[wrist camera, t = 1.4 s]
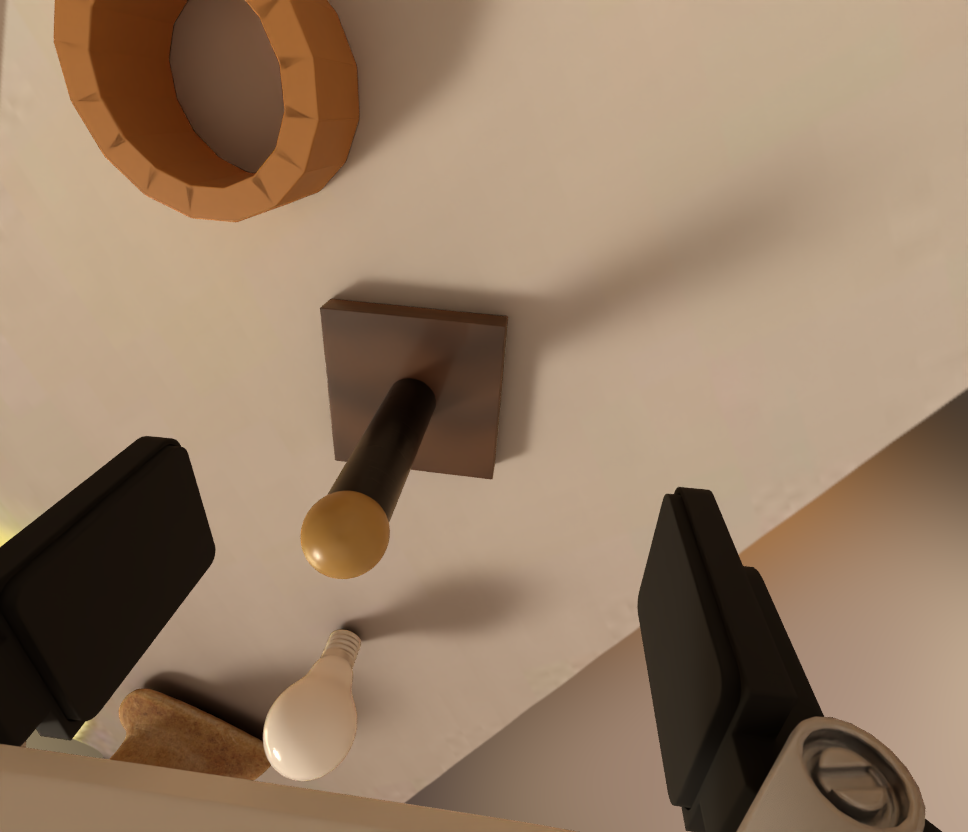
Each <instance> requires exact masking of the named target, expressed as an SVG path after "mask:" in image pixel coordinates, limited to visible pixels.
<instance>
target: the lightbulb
mask: <svg viewBox="0 0 968 832" xmlns="http://www.w3.org/2000/svg"><path fill="white" fill-rule="evenodd" d="M360 646H361V640H360V638H359V637H358V636H357V635H356V634H355V633H353V632H351V631H349V630H336V631H333V632H332V633H331V634H330V637H329V639H328V641H327V644H326V646H325V649H324V651H323V653H322V655H321V657H320V659H319V660H318V661H317V662H316V663H315V664H314V665H313V666H312V668H311V669H310V671H309V672H308V673H307V674H306V675H305V676H304V677H303V678H301V679H300V680H298V681H297V682H295V683H294V684H292V685H291V686H289V687H288V688H287V689H286V690H284V691H283V692H282V693H281V694H280V695H279V697H278V698H277V699H276V700H275V702H274V703H273V705H272V706H271V708H270V710H269V712H268V714H267V717H266V720H265V724H264V729H263V746H264V751H265V754H266V757H267V759H268V761H269V763H270V764H271V766H272V767H273V768H274V769H275V770H276V771H277V772H278V773H279V774H281V775H282V776H284V777H286V778H288V779H291V780H295V781H310V780H315V779H318V778H320V777H323V776H325V775H326V774H328V773H330V772H331V771H333V770H334V769H335V768H336V767H337V766H338V765H339V764H340V763H341V762H342V761H343V760H344V758H345V757H346V755H347V754H348V752H349V750H350V749H351V746H352V744H353V741H354V738H355V735H356V730H357V712H356V707H355V703H354V700H353V696H352V691H351V688H352V681H353V671H352V669H353V666H354V663H355V660H356V658H357V655H358V651H359V650H360Z"/></svg>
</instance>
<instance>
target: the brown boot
mask: <svg viewBox="0 0 968 832" xmlns="http://www.w3.org/2000/svg"><path fill="white" fill-rule="evenodd" d="M119 718H120V721H121V724H122V725H123V727H124V729H125V730H126V732H127V733H126V738H125V740H124V742H123V743H122V745H121V746H120V747H119V749H118V750H117V751H116V752H115V754H114V755H113V756H112V757H111V758H110V759H109V760H116V761H123V762H130V763H137V764H144V765H151V766H158V767H165V768H172V769H178V770H185V771H192V772H199V773H205V774H212V775H219V776H226V777H232V778H239V779H246V780H253V781H254V780H255V779H257V778H258V777H259V776H260V775H262V774H263V773H264V772H265V771H266V770H267V769H268V768H269V767H270V766H271V764H270V763H269V761H268V759H267V757H266V754H265V751H264V746H263V741H261V740H259V739H258V738H256V737H253V736H252V735H250V734H248V733H246V732H245V731H243V730H241V729H239V728H236V727H235V726H233V725H231V724H229V723H227V722H225V721H223V720H221V719H219V718H217V717H215V716H213V715H210V714H208V713H206V712H204V711H202V710H200V709H198V708H195V707H193V706H191V705H189V704H187V703H185V702H183V701H180V700H177V699H175V698H172V697H170V696H168V695H166V694H163V693H160V692H157V691H154V690H151V689H137V690H135V691H133V692H131V693H130V694H128V695H127V696H126V697H125V699H124V700H123V702H122V703H121V705H120V708H119Z"/></svg>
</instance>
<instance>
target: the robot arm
mask: <svg viewBox="0 0 968 832" xmlns="http://www.w3.org/2000/svg"><path fill="white" fill-rule="evenodd" d="M214 556H215V544H214V541H213V537H212V534H211V531H210V527H209V524H208V520H207V517H206V513H205V510H204V507H203V503H202V500H201V496H200V493H199V489H198V486H197V483H196V479H195V476H194V472H193V469H192V465H191V462H190V459H189V455H188V452H187V450H186V449H185V448H183V447H181V445H180V443H179V442H178V441H177V440H175V439H172V438H161V437H151V436H144V437H141V438H139V439H137V440H136V441H135V442H134V443H132V444H131V445H130V446H128V447H127V448H126V449H125V450H123V451H122V452H121V453H120V454H118V455H117V456H116V457H114V458H113V459H112V460H111V461H109V462H108V463H107V464H106V465H104V466H103V467H102V468H100V469H99V470H98V471H97V472H95V473H94V474H93V475H92V476H90V477H89V478H88V479H86V480H85V481H84V482H83V483H81V484H80V485H79V486H78V487H76V488H75V489H74V490H72V491H71V492H70V493H69V494H67V495H66V496H65V497H64V498H62V499H61V500H60V501H58V502H57V503H56V504H55V505H53V506H52V507H51V508H50V509H48V510H47V511H46V512H45V513H43V514H42V515H41V516H39V517H38V518H37V519H36V520H34V521H33V522H32V523H31V524H29V525H28V526H27V527H25V528H24V529H23V530H22V531H20V532H19V533H18V534H17V535H15V536H14V537H13V538H11V539H10V540H9V541H8V542H6V543H5V544H4V545H3V546H1V547H0V832H578V831H572V830H566V829H560V828H555V827H549V826H543V825H538V824H532V823H526V822H520V821H515V820H508V819H501V818H495V817H488V816H482V815H476V814H469V813H462V812H456V811H450V810H443V809H436V808H430V807H423V806H418V805H410V804H405V803H398V802H392V801H385V800H379V799H372V798H366V797H359V796H353V795H346V794H340V793H333V792H326V791H320V790H313V789H306V788H299V787H293V786H286V785H279V784H273V783H266V782H259V781H253V780H246V779H239V778H232V777H226V776H219V775H212V774H205V773H199V772H192V771H185V770H178V769H172V768H165V767H158V766H151V765H144V764H137V763H130V762H123V761H116V760H109V759H102V758H95V757H88V756H81V755H74V754H67V753H60V752H53V751H46V750H39V749H32V748H26V740H27V739H28V737H29V736H30V735H31V734H32V733H33V731H34V730H35V729H36V730H37V731H38V733H39V734H40V736H44V737H51V738H57V739H65V740H72V738H73V737H74V736H75V734H76V733H77V732H78V730H79V729H80V728H81V726H82V725H83V724H84V723H85V721H88V720H91V719H92V718H94V717H95V716H96V715H97V714H98V713H99V712H100V711H101V709H102V708H103V707H104V705H105V704H106V703H107V701H108V700H109V699H110V697H111V696H112V695H113V693H114V692H115V691H116V690H117V688H118V687H119V686H120V684H121V683H122V682H123V680H124V679H125V678H126V676H127V675H128V674H129V672H130V671H131V670H132V668H133V667H134V666H135V664H136V663H137V662H138V660H139V659H140V658H141V657H142V655H143V654H144V653H145V651H146V650H147V649H148V647H149V646H150V645H151V643H152V642H153V641H154V639H155V638H156V637H157V635H158V634H159V633H160V631H161V630H162V629H163V627H164V626H165V625H166V623H167V622H168V621H169V620H170V618H171V617H172V616H173V614H174V613H175V612H176V610H177V609H178V608H179V606H180V605H181V604H182V602H183V601H184V600H185V598H186V597H187V596H188V594H189V593H190V592H191V590H192V589H193V588H194V587H195V585H196V584H197V583H198V581H199V580H200V579H201V577H202V576H203V575H204V573H205V572H206V571H207V569H208V568H209V567H210V565H211V564H212V562H213V559H214ZM638 616H639V622H640V628H641V634H642V640H643V646H644V652H645V658H646V664H647V670H648V676H649V682H650V688H651V694H652V699H653V706H654V712H655V718H656V723H657V730H658V736H659V742H660V748H661V754H662V759H663V766H664V772H665V778H666V784H667V790H668V795H669V799H670V802H671V803H672V805H674V806H681V807H682V812H683V817H684V822H685V828H686V831H691V832H942V831H940V830H939V829H938V828H936V827H935V826H934V825H933V824H931V823H930V822H929V821H928V820H926V819H925V805H924V802H923V799H922V795H921V792H920V790H919V787H918V785H917V784H916V782H915V781H914V779H913V777H912V775H911V774H910V772H909V771H908V769H907V768H906V766H905V765H904V764H903V763H902V762H901V761H900V760H899V759H898V757H897V756H896V755H895V754H894V753H893V752H892V751H891V750H890V749H889V748H888V747H887V746H885V745H884V744H883V743H882V742H880V741H879V740H878V739H876V738H875V737H874V736H873V735H871V734H870V733H868V732H866V731H864V730H862V729H861V728H859V727H857V726H855V725H853V724H851V723H848V722H845V721H842V720H839V719H836V718H833V717H824V715H823V713H822V711H821V708H820V706H819V704H818V702H817V700H816V697H815V695H814V693H813V691H812V689H811V686H810V684H809V682H808V679H807V677H806V675H805V673H804V670H803V668H802V666H801V664H800V662H799V659H798V657H797V655H796V652H795V650H794V648H793V646H792V644H791V641H790V639H789V637H788V635H787V632H786V630H785V628H784V626H783V623H782V621H781V619H780V617H779V614H778V612H777V610H776V608H775V605H774V603H773V601H772V599H771V596H770V594H769V592H768V590H767V587H766V585H765V583H764V581H763V579H762V577H761V575H760V574H759V572H758V571H757V570H756V569H755V568H754V567H746V566H743V565H742V563H741V560H740V558H739V555H738V553H737V551H736V548H735V546H734V543H733V541H732V538H731V536H730V534H729V531H728V529H727V526H726V524H725V522H724V519H723V517H722V514H721V512H720V510H719V507H718V505H717V502H716V500H715V498H714V495H713V493H712V492H711V491H710V490H705V489H694V488H684V487H678V488H677V489H676V490H675V493H674V494H665V496H664V498H663V502H662V506H661V509H660V513H659V517H658V521H657V525H656V529H655V533H654V537H653V540H652V544H651V548H650V552H649V556H648V560H647V564H646V568H645V571H644V575H643V579H642V583H641V587H640V591H639V595H638Z"/></svg>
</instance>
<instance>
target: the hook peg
mask: <svg viewBox="0 0 968 832" xmlns="http://www.w3.org/2000/svg"><path fill="white" fill-rule="evenodd" d="M435 407H436V399H435V395H434V393H433V391H432V390H431V388H430V387H429V386H428V385H426V384H425V383H424V382H422V381H420V380H417V379H412V378H407V379H402V380H399V381H397V382H396V383H394V384H393V385H392V387H391V388H390V390H389V391H388V393H387V395H386V397H385V398H384V400H383V402H382V403H381V405H380V407H379V408H378V410H377V412H376V413H375V415H374V417H373V419H372V420H371V422H370V424H369V425H368V427H367V429H366V430H365V432H364V434H363V435H362V437H361V439H360V441H359V442H358V444H357V446H356V447H355V449H354V451H353V452H352V454H351V456H350V457H349V459H348V461H347V463H346V464H345V466H344V468H343V469H342V471H341V473H340V474H339V476H338V478H337V479H336V481H335V483H334V485H333V486H332V488H331V490H330V491H329V493H328V495H327V496H325V497H323V498H322V499H320V500H319V501H318V502H317V503H315V504H314V505H313V506H312V508H311V509H310V510H309V512H308V513H307V515H306V517H305V519H304V521H303V525H302V528H301V546H302V550H303V553H304V555H305V557H306V559H307V560H308V562H309V563H310V564H311V565H312V567H314V568H315V569H316V570H317V571H318V572H320V573H322V574H324V575H326V576H328V577H332V578H337V579H349V578H354V577H357V576H360V575H362V574H364V573H366V572H368V571H369V570H371V569H372V568H373V567H374V566H375V565H376V564H377V563H378V562H379V561H380V560H381V558H382V557H383V555H384V553H385V551H386V549H387V546H388V543H389V537H390V528H389V521H390V519H391V516H392V514H393V511H394V509H395V507H396V504H397V502H398V499H399V497H400V494H401V492H402V489H403V487H404V484H405V482H406V479H407V477H408V474H409V472H410V469H411V467H412V464H413V462H414V459H415V457H416V454H417V452H418V450H419V447H420V445H421V442H422V440H423V437H424V435H425V432H426V430H427V427H428V425H429V422H430V420H431V417H432V415H433V412H434V410H435Z"/></svg>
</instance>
